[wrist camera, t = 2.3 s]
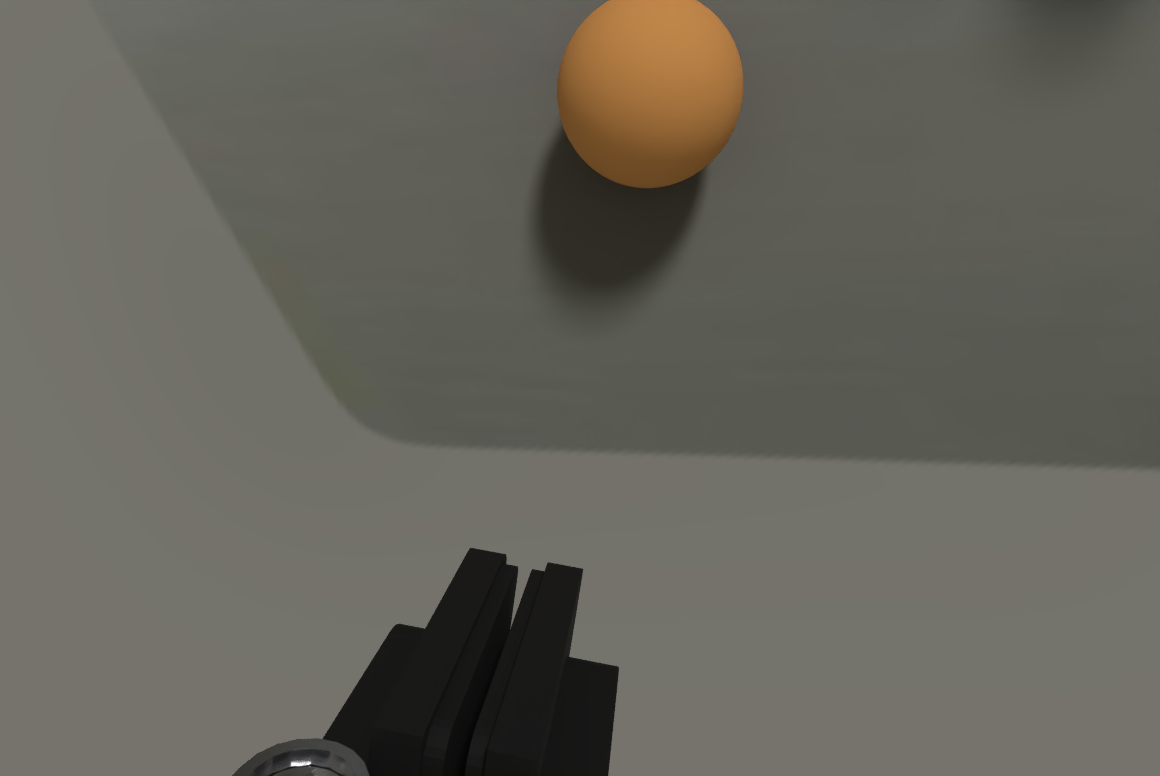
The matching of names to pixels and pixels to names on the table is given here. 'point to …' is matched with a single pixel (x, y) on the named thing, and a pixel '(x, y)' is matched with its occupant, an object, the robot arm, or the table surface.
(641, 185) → the ball
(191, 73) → the table surface
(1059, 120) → the table surface
